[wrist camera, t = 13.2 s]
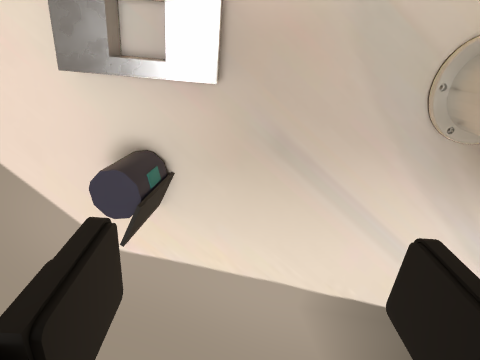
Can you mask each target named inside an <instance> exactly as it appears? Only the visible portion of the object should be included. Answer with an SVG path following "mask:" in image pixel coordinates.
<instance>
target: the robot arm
mask: <svg viewBox="0 0 480 360" xmlns="http://www.w3.org/2000/svg"><path fill="white" fill-rule="evenodd" d="M429 113H430V118H431V120H432V123H433V125H434V127H435V128H436V129H437V130H438V132H439V133H441V134H442V135H443V136H445V137H446V138H448V139H450V140H452V141H455V142H458V143H462V144H480V36H478V37H476V38H474V39H472V40H470V41H468V42H467V43H465V44H464V45H463V46H461V47H460V48H458V49H457V50H456V51H455V52H454V53H453V54H452V55H451V56H450V57H449V58H448V59H447V61H446V62H445V63H444V64H443V66H442V67H441V69H440V70H439V72H438V74H437V75H436V77H435V79H434V82H433V85H432V87H431V91H430V96H429ZM122 295H123V283H122V273H121V263H120V253H119V243H118V233H117V225H116V224H115V223H111V220H110V219H109V218H99V217H89V218H87V219H86V221H85V222H84V223H83V224H82V225H81V227H80V228H79V229H78V230H77V231H76V232H75V234H74V235H73V236H72V237H71V238H70V239H69V241H68V242H67V243H66V244H65V245H64V246H63V248H62V249H61V250H60V251H59V252H58V254H57V255H56V256H55V257H54V258H53V259H52V260H50V261H49V262H47V263H46V264H45V266H44V267H43V268H42V269H41V270H40V271H39V273H38V274H37V275H36V276H35V277H34V278H33V280H32V281H31V282H30V283H29V284H28V285H27V286H26V287H25V289H24V290H23V291H22V292H21V293H20V294H19V296H18V297H17V298H16V299H15V301H14V302H13V303H12V304H11V305H10V306H9V307H8V308H7V310H6V311H5V312H4V313H3V314H2V315H1V317H0V360H95V359H96V356H97V354H98V352H99V350H100V347H101V345H102V343H103V341H104V338H105V336H106V334H107V331H108V329H109V327H110V324H111V322H112V320H113V318H114V316H115V314H116V311H117V309H118V307H119V305H120V302H121V300H122ZM386 311H387V314H388V316H389V318H390V320H391V322H392V323H393V325H394V327H395V329H396V331H397V332H398V334H399V336H400V338H401V339H402V341H403V343H404V345H405V347H406V348H407V350H408V352H409V354H410V355H411V357H412V359H413V360H480V279H479V278H478V277H477V276H476V275H475V274H474V273H473V272H472V271H471V270H470V269H469V268H468V267H467V266H466V265H464V264H463V263H462V262H461V261H460V260H459V259H458V258H457V257H456V256H455V255H454V254H453V253H452V252H451V251H450V250H449V249H448V248H447V247H446V246H445V245H444V244H443V243H442V242H440V241H439V240H436V239H421V238H419V239H416V240H415V241H414V243H411V244H410V245H409V247H408V250H407V252H406V255H405V257H404V260H403V262H402V265H401V267H400V270H399V273H398V275H397V278H396V280H395V283H394V285H393V288H392V290H391V293H390V295H389V298H388V301H387V303H386Z"/></svg>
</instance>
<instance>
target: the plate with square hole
mask: <svg viewBox="0 0 480 360" xmlns="http://www.w3.org/2000/svg"><path fill="white" fill-rule="evenodd" d="M153 1H163V2H165V44H166V60H164V59H153V58H142V57H131V56H121V43H120V29H119V15H118V1H117V0H48V5H49V11H50V18H51V24H52V31H53V37H54V43H55V50H56V56H57V63H58V69H59V70H63V71H74V72H86V73H97V74H108V75H120V76H131V77H142V78H154V79H165V80H176V81H188V82H199V83H210V84H217V82H218V74H219V55H220V37H221V18H222V0H153Z"/></svg>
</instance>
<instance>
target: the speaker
mask: <svg viewBox="0 0 480 360" xmlns="http://www.w3.org/2000/svg"><path fill="white" fill-rule="evenodd" d="M174 174H175V173H173V172H171V173H170V174H169V175H168V176H167V172H166V168H165V163H164V162H163V161H162V160H161V159H160V158H159V157H158V156H157V155H156V154H155V153H153V152H150V151H148V150H146V151H137V152H133V153H131V154H129V155H128V156H126V157H124V158H122V159H121V160H119V161H117V162H115V163H114V164H112V165H110V166H108V167H106V168H105V169H103V170H101V171H100V172H99V173H98V174H97V175H96V176H95V177H94V178H93V179H92V180H91V182H90V186H89V191H90V194H91V197H92V200H93V203H94V205H95V206H96V207H97V208H98V209H99V210H100V211H102V212H103V213H104V214H105V215H106V216H108V217H111V218H113V219H121V218H130V217H131V216H132V215H133V217H132V219H131V221H130V223H129V226H128V228H127V230H126V232H125V235H124V237H123V239H122V242H121V244H120V245H121V246H123V247H124V245H125V244H126V243H127V242H128V241H129V240H130V239H131V237H132V236H133V235H134V234H135V233H136V232H137V230H138V229H139V228H140V227H141V226H142V225H143V224H144V222H145V221H146V220H147V219H148V218H149V217H150V215H151V214H152V213H153V212H154V211H155V210H156V209H157V207H158V206H159V205H160V203H161V201H162V199H163V197H164V195H165V193H166V190H167V188H168V186H169V184H170V182H171V180H172V178H173V176H174Z"/></svg>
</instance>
